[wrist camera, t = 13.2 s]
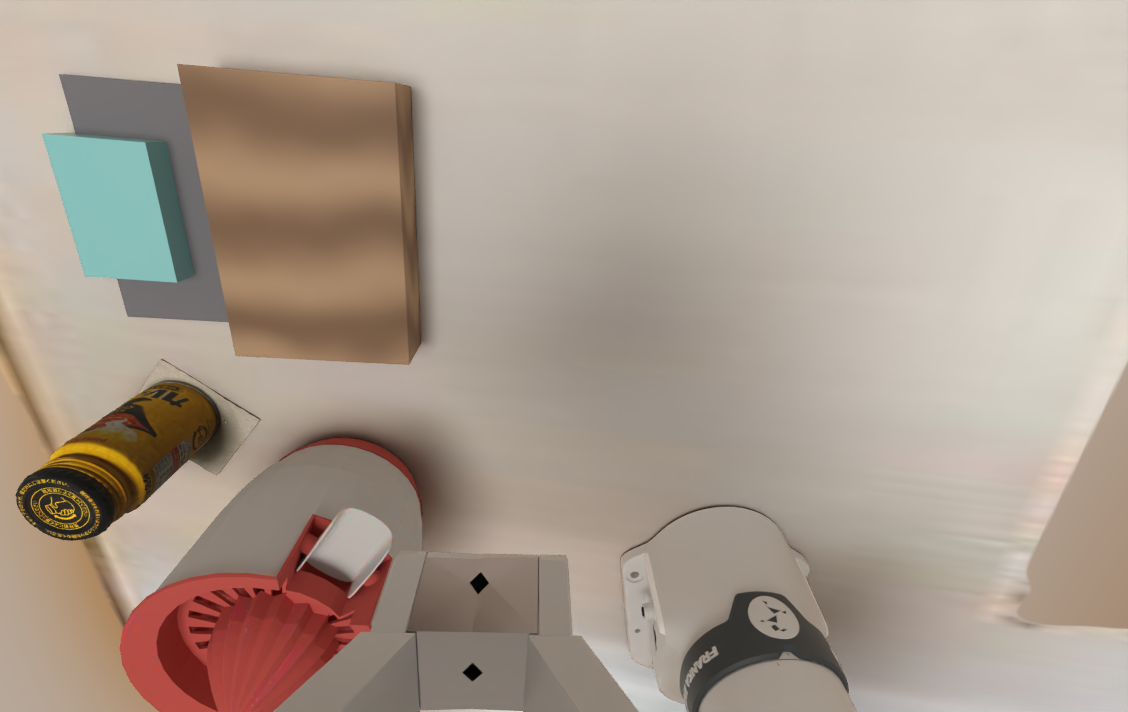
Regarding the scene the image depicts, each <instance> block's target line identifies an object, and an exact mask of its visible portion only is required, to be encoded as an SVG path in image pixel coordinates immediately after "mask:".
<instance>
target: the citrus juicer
mask: <svg viewBox="0 0 1128 712" xmlns="http://www.w3.org/2000/svg"><path fill="white" fill-rule="evenodd" d="M422 537H423V529H422V507H421V500H420V496H419V493H418V490H417V487H416V484H415V481H414V478H413V476H412V475H411V473H410V472H409V470H408V468H407V467H406V466H405V465H404V464H403V463H402V462H401V461H400V460H399V459H398V458H397V457H396V456H394V455H393V454H392V453H390V452H389V451H388V450H386V449H384V448H382V447H380V446H378V445H376V444H373V443H370V442H367V441H364V440H359V439H353V438H331V439H325V440H321V441H318V442H315V443H312V444H310V445H307V446H304V447H302V448H300V449H297V450H295V451H293V452H291V453H290V454H288V455H287V456H285V457H283V458H282V459H281V460H280V461H279V462H278V463H276V464H274V465H273V466H271V467H269V468H268V469H266V470H265V471H263V472H262V473H261V474H260V475H258V476H257V477H256V478H255V479H253V480H252V481H251V482H250V483H248V484H247V485H246V486H245V487H244V488H243V489H242V490H241V491H240V492H239V493H238V494H237V495H236V496H235V498H234V499H233V500H232V501H231V502H230V503H229V504H228V505H227V506H226V507H225V508H224V509H223V510H222V511H221V512H220V514H219V515H218V516H217V517H216V518H215V520H214V521H213V522H212V523H211V525H210V526H209V527H208V528H207V529H206V531H205V532H204V533H203V534H202V535H201V537H200V538H199V539H198V540H197V542H196V543H195V544H194V545H193V546H192V548H191V549H190V550H189V551H188V553H187V554H186V555H185V556H184V557H183V559H182V560H181V561H180V562H179V563H178V565H177V566H176V567H175V568H174V570H173V571H172V572H171V573H170V574H169V576H168V577H167V578H166V579H165V581H164V582H163V583H162V584H161V585H160V587H159V588H158V589H157V590H156V591H155V592H154V593H152V594H151V595H149V596H147V597H146V598H145V599H144V600H143V601H142V602H141V603H140V604H139V605H138V606H137V607H136V608H135V609H134V610H133V611H132V613H131V614H130V616H129V618H128V620H127V622H126V624H125V626H124V628H123V632H122V637H121V644H120V652H121V658H122V664H123V667H124V669H125V671H126V673H127V675H128V677H129V680H130V682H131V683H132V684H133V686H134V687H135V688H136V689H137V691H138V692H139V693H140V694H141V696H142V697H143V698H144V699H145V700H146V701H148V702H149V703H150V704H151V705H152V706H153V707H155V708H156V709H157V710H158V711H159V712H273V711H274V710H275V709H276V708H278V707H279V706H280V705H281V704H282V703H283V702H284V701H285V700H286V699H287V698H289V697H290V696H291V695H292V694H293V693H294V692H295V691H296V690H297V689H299V688H300V687H301V686H302V685H303V684H304V683H305V682H306V681H307V680H308V679H310V678H311V677H312V676H313V675H314V674H315V673H316V672H317V671H318V670H320V669H321V668H322V667H323V666H324V665H325V664H326V663H327V662H328V661H329V660H331V659H332V658H333V657H334V656H335V655H336V654H337V653H338V652H339V651H341V650H342V649H343V648H344V647H345V646H346V645H347V644H348V643H349V642H351V641H352V640H353V639H354V638H355V637H356V636H357V635H358V634H359V633H360V632H370V631H371V628H372V625H373V622H374V619H375V616H376V613H377V610H378V607H379V604H380V601H381V598H382V595H383V592H384V589H385V586H386V583H387V580H388V577H389V574H390V571H391V568H392V565H393V562H394V559H395V557H396V556H397V554H398V553H399V551H400V550H402V551H420V552H422Z"/></svg>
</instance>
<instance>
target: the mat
mask: <svg viewBox="0 0 1128 712" xmlns="http://www.w3.org/2000/svg"><path fill="white" fill-rule="evenodd" d="M59 76H60V80H61V83H62V87H63V90H64V94H65V97H66V101H67V104H68V108H69V111H70V115H71V118H72V122H73V125H74V129H75V132H76V134H86V135H98V136H110V137H121V138H133V139H145V140H157V141H166V142H167V147H168V151H169V156H170V161H171V165H172V170H173V175H174V180H175V184H176V189H177V194H178V198H179V203H180V208H181V212H182V217H183V222H184V227H185V231H186V236H187V241H188V245H189V250H190V255H191V259H192V264H193V269H194V274H195V275H193V276H191V277H189V278H186V279H184V280H182V281H180V282H177V283H175V282H160V281H145V280H130V279H117V280H118V284H119V287H120V291H121V294H122V298H123V301H124V305H125V308H126V312H127V315H128V316H129V317H147V318H164V319H182V320H200V321H218V322H229V320H228V315H227V310H226V305H225V300H224V295H223V290H222V285H221V280H220V275H219V270H218V265H217V260H216V255H215V250H214V245H213V240H212V235H211V230H210V226H209V221H208V216H207V211H206V206H205V201H204V196H203V191H202V186H201V181H200V176H199V171H198V166H197V161H196V156H195V151H194V146H193V141H192V136H191V131H190V126H189V121H188V116H187V111H186V106H185V101H184V96H183V91H182V86H181V85H179V84H167V83H155V82H143V81H132V80H120V79H108V78H96V77H84V76H73V75H61V74H59Z"/></svg>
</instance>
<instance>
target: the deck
mask: <svg viewBox="0 0 1128 712" xmlns="http://www.w3.org/2000/svg"><path fill="white" fill-rule="evenodd" d="M177 66H178V71H179V76H180V81H181V86H182V91H183V96H184V101H185V106H186V111H187V116H188V121H189V126H190V131H191V136H192V141H193V146H194V151H195V156H196V161H197V166H198V171H199V176H200V181H201V186H202V191H203V196H204V201H205V206H206V211H207V216H208V221H209V226H210V230H211V235H212V240H213V245H214V250H215V255H216V260H217V265H218V270H219V275H220V280H221V285H222V290H223V295H224V300H225V305H226V310H227V315H228V320H229V325H230V330H231V335H232V340H233V345H234V350H235V355H236V356H249V357H268V358H288V359H307V360H326V361H346V362H365V363H385V364H404V365H409V364H410V362H411V360H412V359H413V357H414V355H415V353H416V351H417V349H418V348H419V346H420V344H421V331H420V306H419V281H418V256H417V231H416V205H415V180H414V155H413V130H412V105H411V87H409V86H405V85H401V84H397V83H390V82H378V81H367V80H355V79H344V78H332V77H321V76H309V75H298V74H286V73H275V72H263V71H252V70H240V69H229V68H217V67H206V66H194V65H183V64H177Z"/></svg>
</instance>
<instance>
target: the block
mask: <svg viewBox="0 0 1128 712" xmlns="http://www.w3.org/2000/svg"><path fill="white" fill-rule="evenodd" d="M42 135H43V138H44V142H45V145H46V148H47V152H48V155H49V158H50V162H51V165H52V168H53V171H54V175H55V178H56V181H57V185H58V188H59V191H60V195H61V198H62V201H63V205H64V208H65V211H66V215H67V218H68V221H69V224H70V228H71V231H72V234H73V238H74V241H75V244H76V248H77V251H78V254H79V258H80V261H81V264H82V268H83V271H84V274H85V276H86V277H101V278H116V279H130V280H145V281H160V282H175V283H177V282H180V281H182V280H184V279H186V278H189V277H191V276H193V275H195V274H194V269H193V264H192V259H191V255H190V250H189V245H188V241H187V236H186V231H185V227H184V222H183V217H182V212H181V208H180V203H179V198H178V194H177V189H176V184H175V180H174V175H173V170H172V165H171V161H170V156H169V151H168V147H167V142H166V141H157V140H145V139H133V138H121V137H110V136H98V135H86V134H74V133H52V134H42Z"/></svg>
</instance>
